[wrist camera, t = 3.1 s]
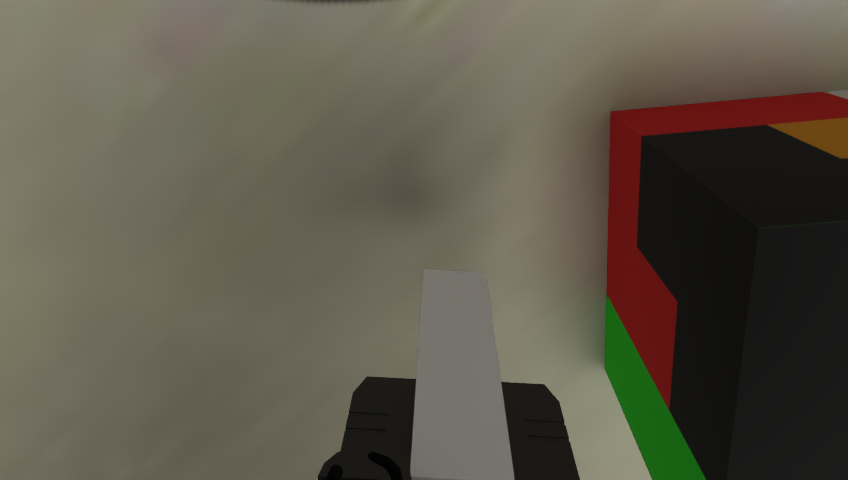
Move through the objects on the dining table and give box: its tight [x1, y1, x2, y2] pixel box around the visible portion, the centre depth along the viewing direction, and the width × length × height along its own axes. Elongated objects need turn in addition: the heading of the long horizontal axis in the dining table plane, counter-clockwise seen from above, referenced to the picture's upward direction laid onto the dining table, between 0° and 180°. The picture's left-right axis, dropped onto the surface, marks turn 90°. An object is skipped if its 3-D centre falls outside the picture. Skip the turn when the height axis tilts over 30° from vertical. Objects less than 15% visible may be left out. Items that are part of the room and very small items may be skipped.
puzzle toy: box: [605, 90, 848, 480], centre depth 17 cm, size 10×10×10 cm
